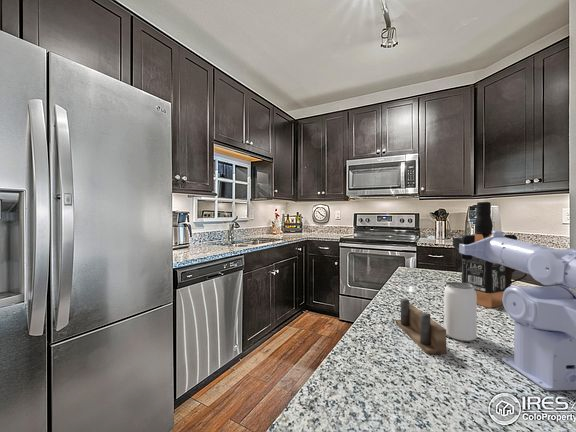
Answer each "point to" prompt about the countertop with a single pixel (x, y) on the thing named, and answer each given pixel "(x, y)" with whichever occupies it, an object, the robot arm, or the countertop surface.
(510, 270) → the coffee mug
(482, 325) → the countertop surface
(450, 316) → the can
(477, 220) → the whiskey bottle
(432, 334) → the rail
